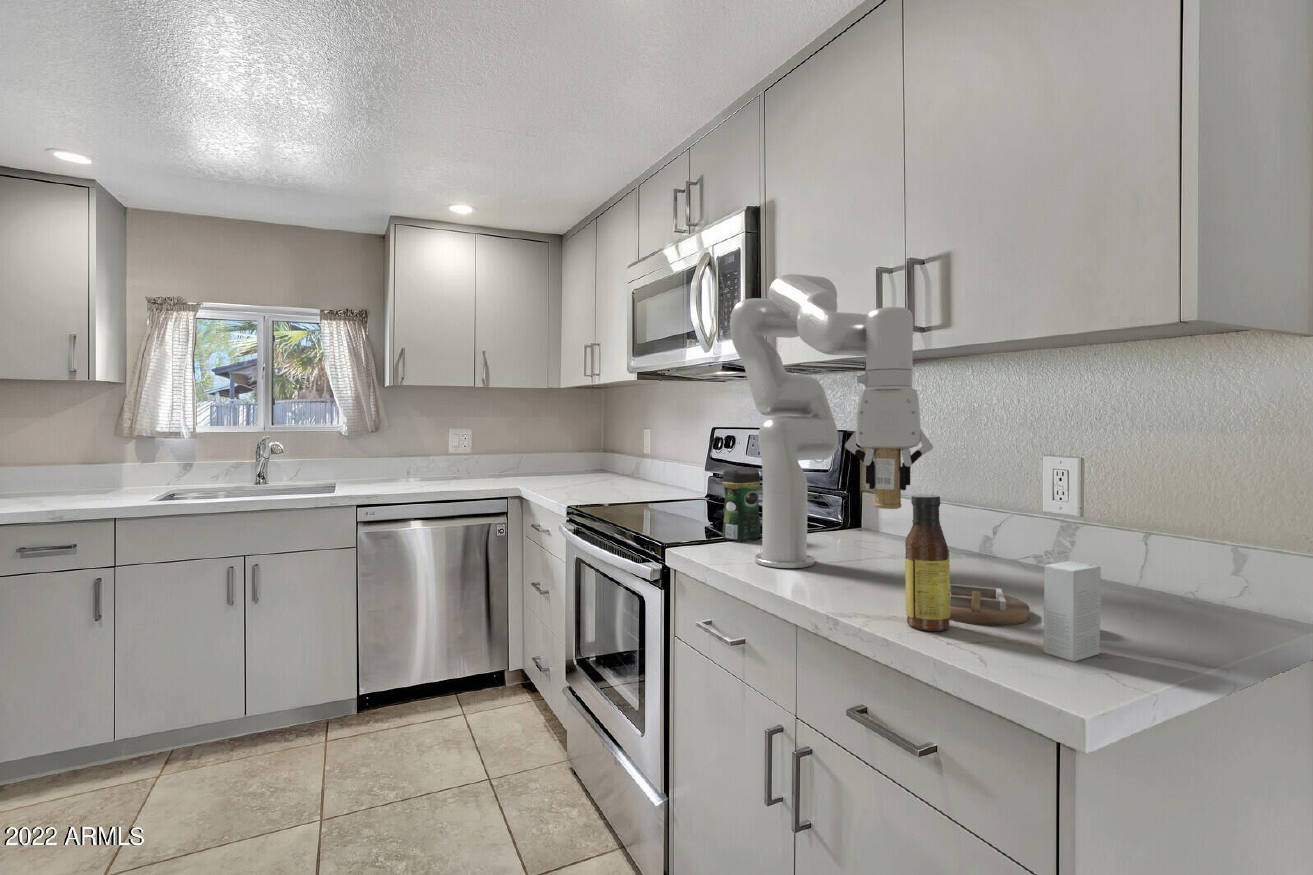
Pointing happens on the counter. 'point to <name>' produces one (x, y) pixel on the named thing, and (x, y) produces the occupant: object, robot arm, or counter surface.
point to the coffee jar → (741, 504)
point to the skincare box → (1072, 610)
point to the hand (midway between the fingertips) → (887, 487)
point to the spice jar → (887, 478)
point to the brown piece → (985, 606)
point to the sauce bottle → (927, 568)
